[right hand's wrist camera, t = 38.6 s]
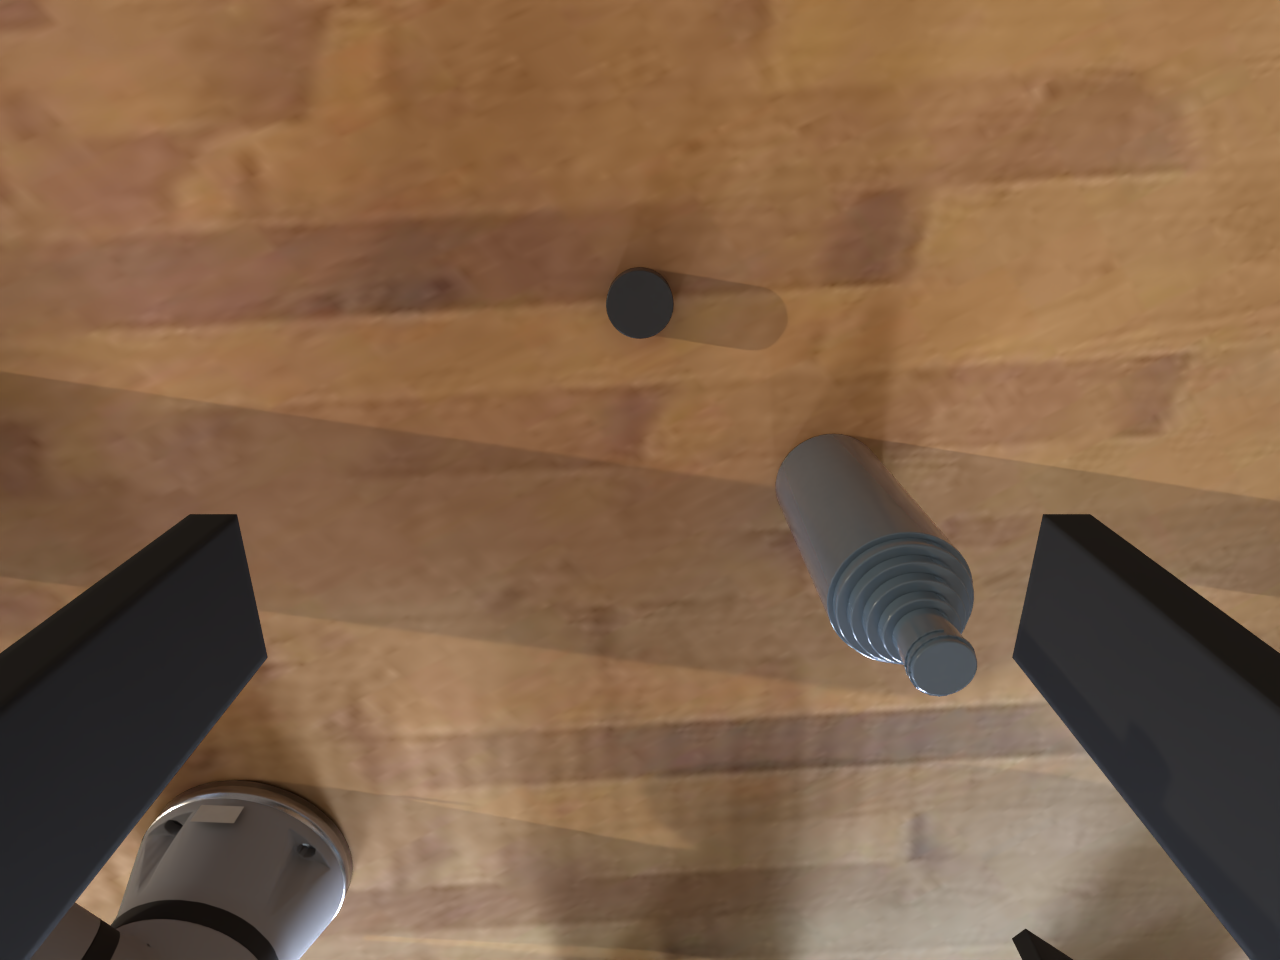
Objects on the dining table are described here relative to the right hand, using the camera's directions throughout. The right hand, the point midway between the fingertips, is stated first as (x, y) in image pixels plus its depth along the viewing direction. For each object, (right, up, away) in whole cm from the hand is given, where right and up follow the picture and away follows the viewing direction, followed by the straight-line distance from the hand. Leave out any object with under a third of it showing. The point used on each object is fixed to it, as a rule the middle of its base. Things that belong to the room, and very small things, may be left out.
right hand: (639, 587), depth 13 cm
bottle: (+12, +2, +35) cm, 37 cm away
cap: (0, +11, +29) cm, 31 cm away
